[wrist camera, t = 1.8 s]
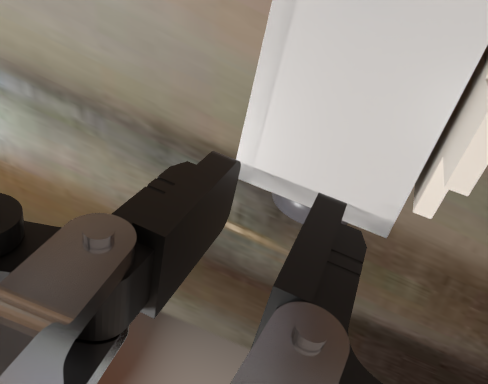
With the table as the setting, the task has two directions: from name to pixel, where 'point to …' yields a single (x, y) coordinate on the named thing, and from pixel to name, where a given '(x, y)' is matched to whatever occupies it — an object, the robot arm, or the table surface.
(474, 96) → the side door
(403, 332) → the table surface
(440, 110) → the camera housing
